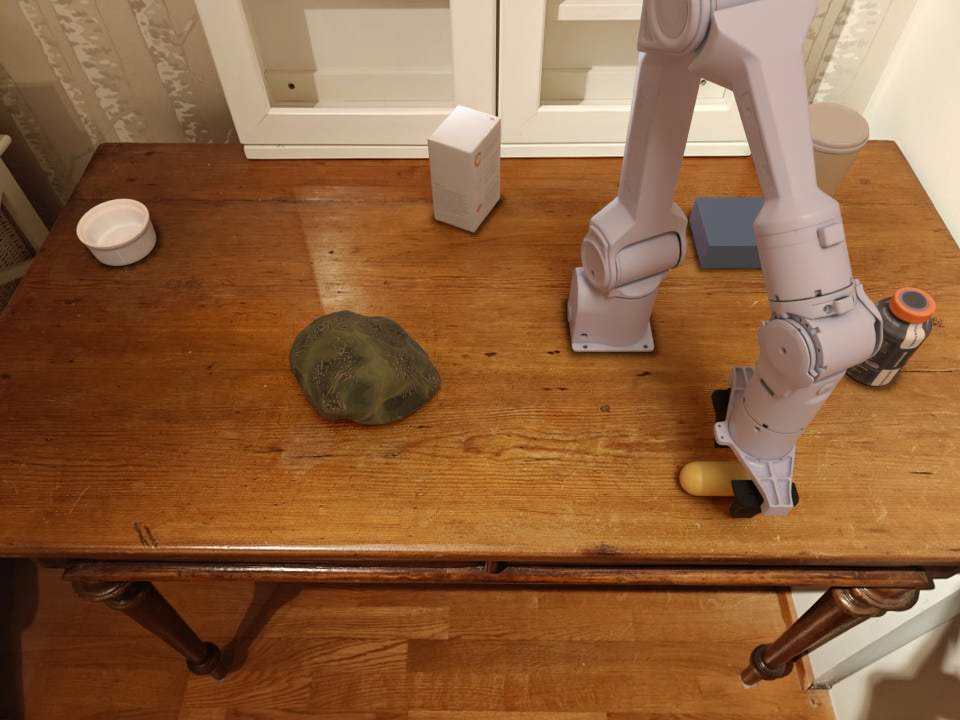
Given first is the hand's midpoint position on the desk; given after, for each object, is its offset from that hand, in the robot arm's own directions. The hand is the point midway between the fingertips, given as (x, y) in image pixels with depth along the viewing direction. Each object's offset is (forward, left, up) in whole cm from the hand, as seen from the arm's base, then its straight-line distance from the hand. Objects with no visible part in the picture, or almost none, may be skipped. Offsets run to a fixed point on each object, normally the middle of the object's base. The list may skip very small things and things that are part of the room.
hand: (732, 478), depth 70 cm
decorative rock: (-38, +13, -2) cm, 40 cm away
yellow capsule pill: (0, 0, 0) cm, 0 cm away
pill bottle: (+19, +15, -2) cm, 24 cm away
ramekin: (-72, +35, -2) cm, 80 cm away
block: (+10, +35, -2) cm, 36 cm away
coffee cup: (+19, +44, -2) cm, 48 cm away
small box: (-27, +42, -2) cm, 50 cm away
